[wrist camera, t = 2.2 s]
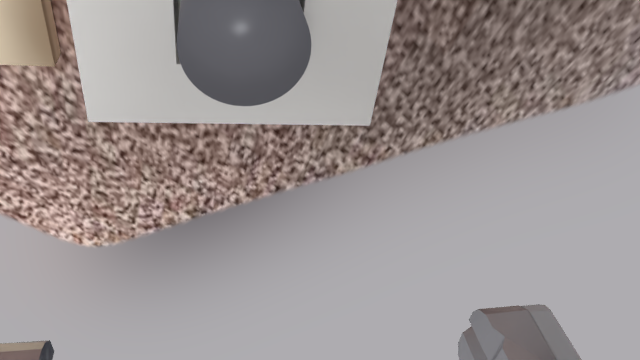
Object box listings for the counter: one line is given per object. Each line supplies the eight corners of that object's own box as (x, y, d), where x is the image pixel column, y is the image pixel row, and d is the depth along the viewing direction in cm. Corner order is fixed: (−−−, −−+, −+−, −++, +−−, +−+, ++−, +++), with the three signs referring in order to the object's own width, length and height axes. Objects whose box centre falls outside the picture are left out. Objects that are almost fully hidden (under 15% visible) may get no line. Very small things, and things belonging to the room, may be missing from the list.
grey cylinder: (291, -74, 25) (318, -13, 19) (282, 27, 28) (304, 107, 22) (181, -85, 24) (173, -23, 18) (185, 22, 27) (179, 104, 21)
